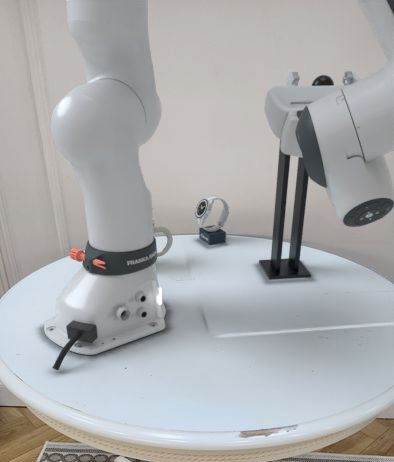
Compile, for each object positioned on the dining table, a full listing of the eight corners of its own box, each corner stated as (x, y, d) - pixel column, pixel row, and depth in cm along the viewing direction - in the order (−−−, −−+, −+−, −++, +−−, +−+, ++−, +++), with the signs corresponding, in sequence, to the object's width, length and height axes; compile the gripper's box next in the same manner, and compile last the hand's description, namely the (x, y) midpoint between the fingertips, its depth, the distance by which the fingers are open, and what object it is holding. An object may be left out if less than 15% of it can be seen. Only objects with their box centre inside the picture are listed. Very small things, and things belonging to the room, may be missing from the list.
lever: (338, 91, 84) (336, 69, 84) (316, 92, 83) (314, 70, 84) (304, 143, 101) (302, 125, 101) (286, 144, 100) (284, 126, 101)
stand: (310, 279, 111) (329, 124, 95) (268, 282, 110) (280, 125, 94) (297, 262, 119) (313, 116, 103) (258, 265, 118) (268, 117, 102)
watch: (192, 241, 130) (191, 196, 124) (221, 236, 133) (222, 192, 127) (202, 249, 126) (202, 202, 120) (232, 243, 129) (233, 198, 123)
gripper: (415, 115, 78) (388, 56, 85) (280, 118, 76) (262, 57, 82) (397, 149, 84) (373, 91, 90) (271, 153, 81) (256, 93, 88)
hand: (320, 75), depth 86 cm, fingers open, 8 cm apart
